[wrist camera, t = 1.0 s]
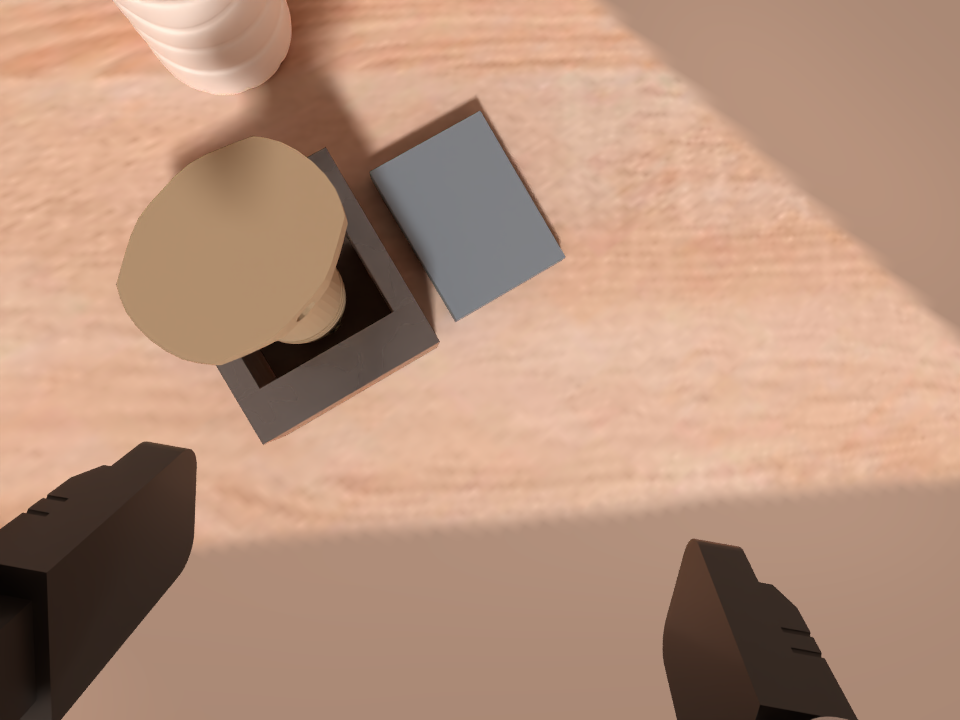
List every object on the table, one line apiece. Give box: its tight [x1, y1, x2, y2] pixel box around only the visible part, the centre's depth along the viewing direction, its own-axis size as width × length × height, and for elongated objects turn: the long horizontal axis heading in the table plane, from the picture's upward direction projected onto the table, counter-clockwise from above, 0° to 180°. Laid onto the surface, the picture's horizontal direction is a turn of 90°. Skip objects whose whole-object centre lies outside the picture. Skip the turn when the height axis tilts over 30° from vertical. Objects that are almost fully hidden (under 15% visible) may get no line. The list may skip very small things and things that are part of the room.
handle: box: [116, 136, 348, 365], centre depth 27 cm, size 5×6×15 cm
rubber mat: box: [370, 111, 565, 322], centre depth 35 cm, size 8×6×1 cm
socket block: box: [216, 147, 440, 445], centre depth 32 cm, size 9×8×5 cm
